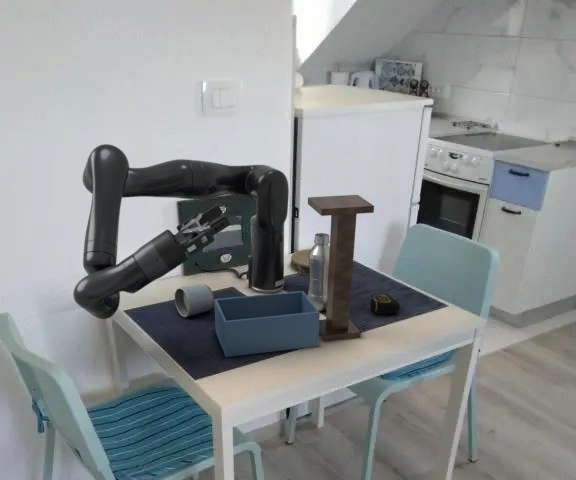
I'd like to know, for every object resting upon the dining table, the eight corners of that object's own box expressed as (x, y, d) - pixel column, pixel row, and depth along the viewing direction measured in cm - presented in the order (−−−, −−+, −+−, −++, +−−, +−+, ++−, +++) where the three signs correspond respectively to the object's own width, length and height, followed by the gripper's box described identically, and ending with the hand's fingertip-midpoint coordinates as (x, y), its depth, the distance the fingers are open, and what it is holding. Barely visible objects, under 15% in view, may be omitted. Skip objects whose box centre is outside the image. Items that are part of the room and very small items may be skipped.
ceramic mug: (216, 313, 161) (215, 285, 157) (190, 321, 156) (187, 292, 153) (195, 301, 168) (193, 274, 164) (168, 308, 163) (166, 281, 160)
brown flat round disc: (348, 262, 196) (348, 253, 195) (333, 278, 184) (333, 269, 182) (301, 255, 201) (301, 246, 200) (283, 271, 188) (283, 261, 187)
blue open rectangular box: (225, 357, 141) (224, 322, 136) (215, 332, 151) (214, 299, 147) (318, 346, 146) (319, 312, 141) (302, 323, 157) (303, 290, 152)
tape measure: (400, 315, 162) (401, 301, 160) (376, 317, 160) (377, 304, 158) (388, 305, 168) (390, 292, 166) (365, 307, 166) (366, 294, 164)
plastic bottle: (324, 315, 161) (327, 240, 151) (301, 309, 164) (304, 236, 154) (335, 307, 166) (340, 234, 155) (313, 301, 169) (316, 229, 158)
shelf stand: (315, 343, 147) (321, 208, 131) (303, 326, 155) (307, 197, 139) (362, 338, 150) (374, 205, 134) (348, 321, 158) (357, 194, 142)
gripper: (153, 252, 123) (220, 207, 123) (147, 231, 135) (208, 190, 134) (174, 281, 128) (240, 238, 127) (167, 258, 139) (226, 219, 139)
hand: (223, 213), depth 131 cm, fingers open, 8 cm apart
